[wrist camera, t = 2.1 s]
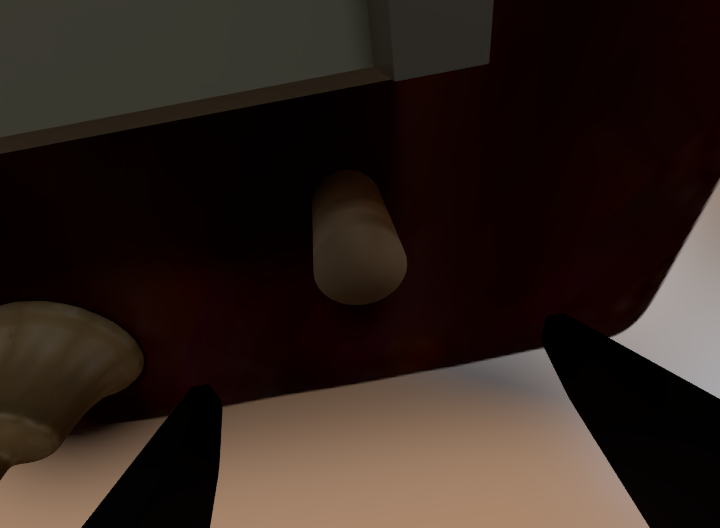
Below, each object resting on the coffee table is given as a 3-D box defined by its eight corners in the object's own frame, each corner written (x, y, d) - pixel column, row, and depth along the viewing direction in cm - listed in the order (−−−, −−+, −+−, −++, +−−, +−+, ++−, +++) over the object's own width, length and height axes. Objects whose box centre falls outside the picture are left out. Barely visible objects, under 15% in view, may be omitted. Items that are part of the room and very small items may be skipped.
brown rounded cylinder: (376, 163, 16) (403, 221, 11) (384, 226, 18) (409, 295, 13) (304, 177, 16) (303, 240, 11) (320, 238, 18) (324, 312, 13)
